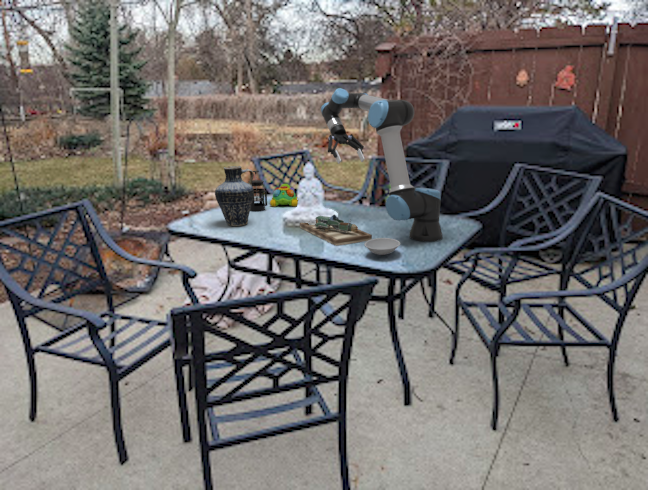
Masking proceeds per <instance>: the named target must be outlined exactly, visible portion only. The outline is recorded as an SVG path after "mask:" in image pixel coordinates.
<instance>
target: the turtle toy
mask: <svg viewBox="0 0 648 490" xmlns="http://www.w3.org/2000/svg"><path fill="white" fill-rule="evenodd" d="M297 198H298V197H297V195H296V193H295V189H294V187H291V185H289V184H288V183H283V184H281V185H280V187H276V188H274V191H273V194H272V197H271V199H270V201H269V206H270V207H272V208H273V207H275V208H276V207H278V206H279V205H280V206H285V205H289V206H290V207H292V208H293V207H295V208H296V207H298V204H299V199H298V200H297Z"/></svg>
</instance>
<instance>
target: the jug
mask: <svg viewBox="0 0 648 490" xmlns="http://www.w3.org/2000/svg"><path fill="white" fill-rule="evenodd" d="M223 170H224V174H225V180H224V181H223V182H222V183H220V185H218V186H217V187H216V188H215V191H214V195H215V197H214V198H215V200H216V203H217V204H218V206H219V209H220V210H221V213H222V215H223V217H224V220H225V222H226V225H228V226H233V227H239V226H245V225H247V224H248V222H249V216H250V212H251V211H250V208H251V204H252V201H253V196H254V197H255V193H254V189H255V188H254V186H252V181H253V180H254V175H255V173H254V172H253V171H254V170H252V169H249V168H245V169H242V166H240V165H238V166H236V165H235V166H234V165H233V166H226V167H225V166H224V167H223ZM248 172H249V175H250V176H249V182H246V181H244V179H243V178H242V175H243V174H245V173H248Z"/></svg>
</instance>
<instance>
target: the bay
mask: <svg viewBox="0 0 648 490" xmlns="http://www.w3.org/2000/svg"><path fill="white" fill-rule="evenodd" d="M299 228H300V229H302V230H303V231H306V232H308V233H310V234H311V235H314V236H316V237H317V238H319V239H322V240H324V241H326V242H327V243H329V244H331V245H333V246H335V247H337V246H343V245H345V246H346V245H350V244H356V243H362V242H363V243H365V242H366V241H368V240H371V239H373V235H372V234H370V233H368V232H365V231H363V230H361V229H359V228H358V230H357V231H355V232H352V231H349V233H347V234H346V233H344V231H342V232H340V231H341V230H339V231H336V229H335V228H333V227H332V226H330V227H328V231H325V229H324V228H322V227H321V228H322V229H321V230H319V229H316V228H317V227H315V225H309V224H308V223H303V222H300V223H299ZM345 232H346V231H345ZM343 233H344V234H343Z"/></svg>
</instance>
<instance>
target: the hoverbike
mask: <svg viewBox="0 0 648 490" xmlns="http://www.w3.org/2000/svg"><path fill="white" fill-rule="evenodd" d="M314 219H315V221H316V224H315V227H317V228H316V229H319V230H321V229H322V228H324V229H325V231H328V227H330V226H332V227H333V228H335V229H336V231H339V230H341V231H340V232H342V231H344V233H346V234H347V233H349V231H352V232H355V231H357V230H358V229H359V228H358V227H359V226H358V225H356V224H354V223H352V219H349V222H345V220H343V219H340V218H339V217H337V215H336V214H333V215H331V216H325V215H324V216H323V215H317V216H315V218H314ZM321 227H322V228H321ZM345 231H346V232H345ZM344 233H343V234H344Z"/></svg>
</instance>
